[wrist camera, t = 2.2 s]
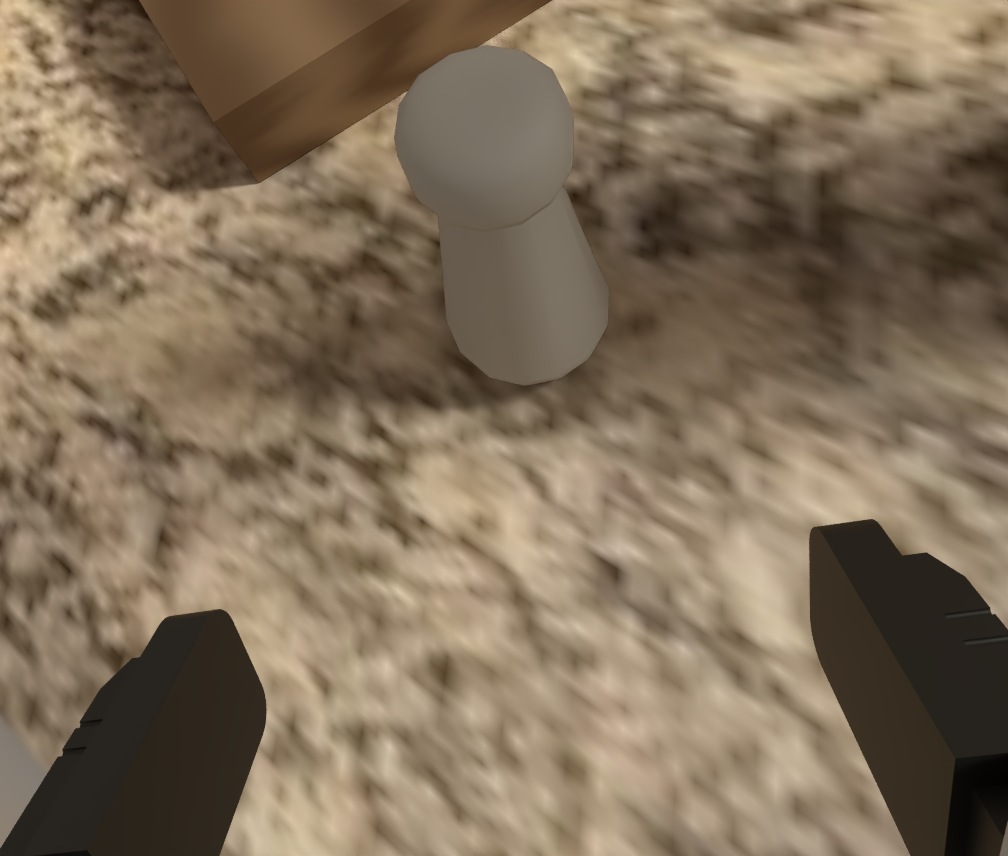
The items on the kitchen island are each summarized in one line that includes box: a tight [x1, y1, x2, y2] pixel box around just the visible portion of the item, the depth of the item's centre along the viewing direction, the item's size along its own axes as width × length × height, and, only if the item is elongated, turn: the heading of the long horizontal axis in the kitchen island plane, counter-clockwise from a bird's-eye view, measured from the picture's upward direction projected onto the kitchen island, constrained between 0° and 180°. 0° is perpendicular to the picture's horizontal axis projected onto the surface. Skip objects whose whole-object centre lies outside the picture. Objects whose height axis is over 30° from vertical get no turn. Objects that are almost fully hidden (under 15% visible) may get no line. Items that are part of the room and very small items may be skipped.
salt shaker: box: [394, 45, 609, 386], centre depth 24 cm, size 6×6×13 cm
